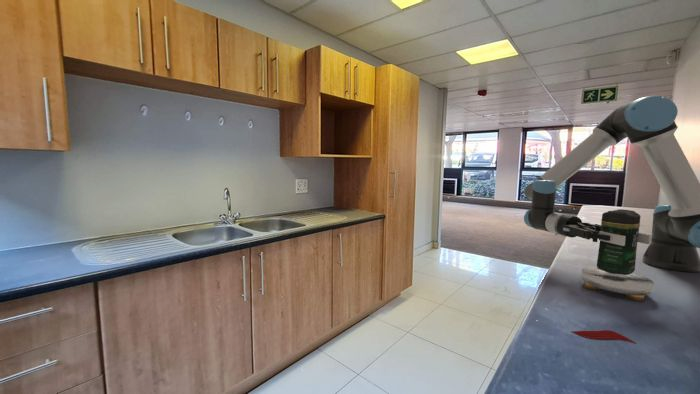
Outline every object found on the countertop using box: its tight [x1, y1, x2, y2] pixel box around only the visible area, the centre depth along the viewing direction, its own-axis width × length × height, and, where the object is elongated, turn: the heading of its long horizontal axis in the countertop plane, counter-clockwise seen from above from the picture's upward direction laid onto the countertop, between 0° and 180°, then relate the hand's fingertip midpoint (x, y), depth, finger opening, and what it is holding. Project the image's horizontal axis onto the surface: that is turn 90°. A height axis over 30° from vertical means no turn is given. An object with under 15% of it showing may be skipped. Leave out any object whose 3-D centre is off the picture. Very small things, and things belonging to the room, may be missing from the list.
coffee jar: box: [596, 209, 641, 275], centre depth 86 cm, size 10×8×19 cm
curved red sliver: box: [570, 329, 638, 344], centre depth 63 cm, size 12×5×2 cm, turn 59°
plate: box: [580, 266, 655, 302], centre depth 88 cm, size 16×16×4 cm
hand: (637, 240), depth 82 cm, fingers closed on coffee jar, 8 cm apart
